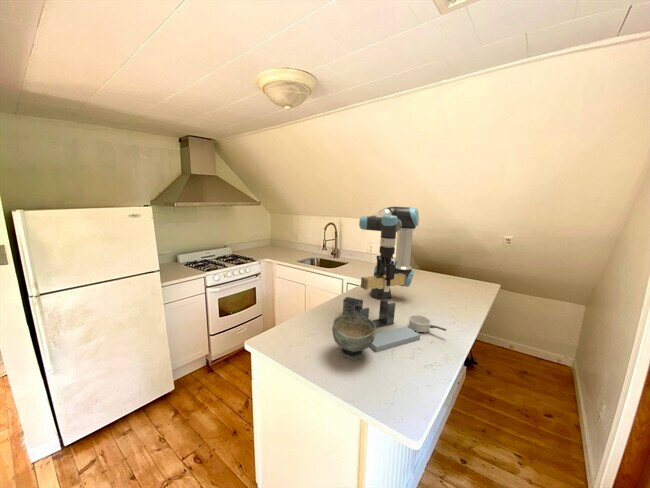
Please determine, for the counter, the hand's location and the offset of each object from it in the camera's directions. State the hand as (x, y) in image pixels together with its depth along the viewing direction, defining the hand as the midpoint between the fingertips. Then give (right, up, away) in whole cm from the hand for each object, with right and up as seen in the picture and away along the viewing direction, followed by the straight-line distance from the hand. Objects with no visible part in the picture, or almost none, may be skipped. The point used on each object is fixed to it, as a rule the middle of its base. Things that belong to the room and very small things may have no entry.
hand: (383, 290), depth 141 cm
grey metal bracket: (-3, -22, +11) cm, 25 cm away
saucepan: (+24, -24, +6) cm, 35 cm away
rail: (0, +2, 0) cm, 2 cm away
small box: (-14, -20, +21) cm, 32 cm away
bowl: (-18, -27, -17) cm, 36 cm away
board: (+3, -25, -4) cm, 25 cm away
